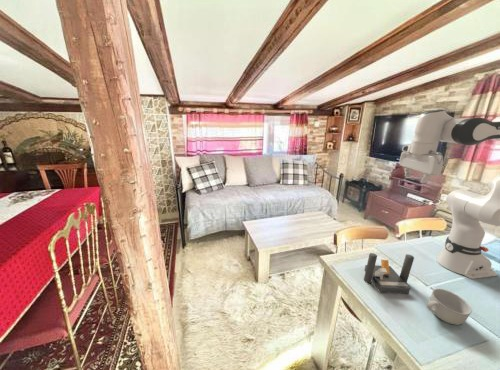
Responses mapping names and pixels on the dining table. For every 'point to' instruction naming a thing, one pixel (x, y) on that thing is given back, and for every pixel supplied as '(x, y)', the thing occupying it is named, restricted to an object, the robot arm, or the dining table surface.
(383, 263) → the paddle centre
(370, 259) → the post
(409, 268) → the post
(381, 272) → the paddle right
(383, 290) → the black flat block
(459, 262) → the robot arm
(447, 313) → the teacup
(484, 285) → the dining table surface
